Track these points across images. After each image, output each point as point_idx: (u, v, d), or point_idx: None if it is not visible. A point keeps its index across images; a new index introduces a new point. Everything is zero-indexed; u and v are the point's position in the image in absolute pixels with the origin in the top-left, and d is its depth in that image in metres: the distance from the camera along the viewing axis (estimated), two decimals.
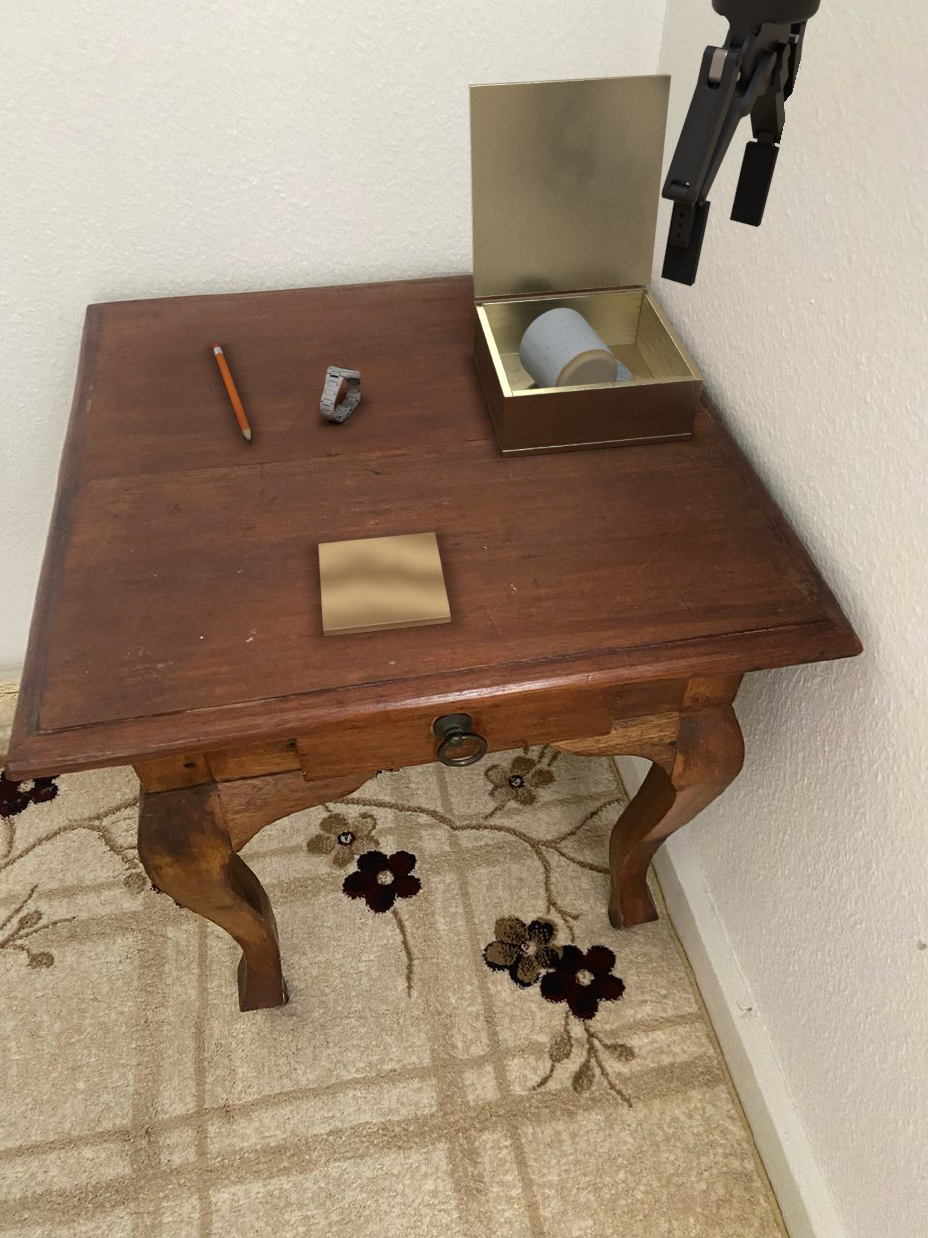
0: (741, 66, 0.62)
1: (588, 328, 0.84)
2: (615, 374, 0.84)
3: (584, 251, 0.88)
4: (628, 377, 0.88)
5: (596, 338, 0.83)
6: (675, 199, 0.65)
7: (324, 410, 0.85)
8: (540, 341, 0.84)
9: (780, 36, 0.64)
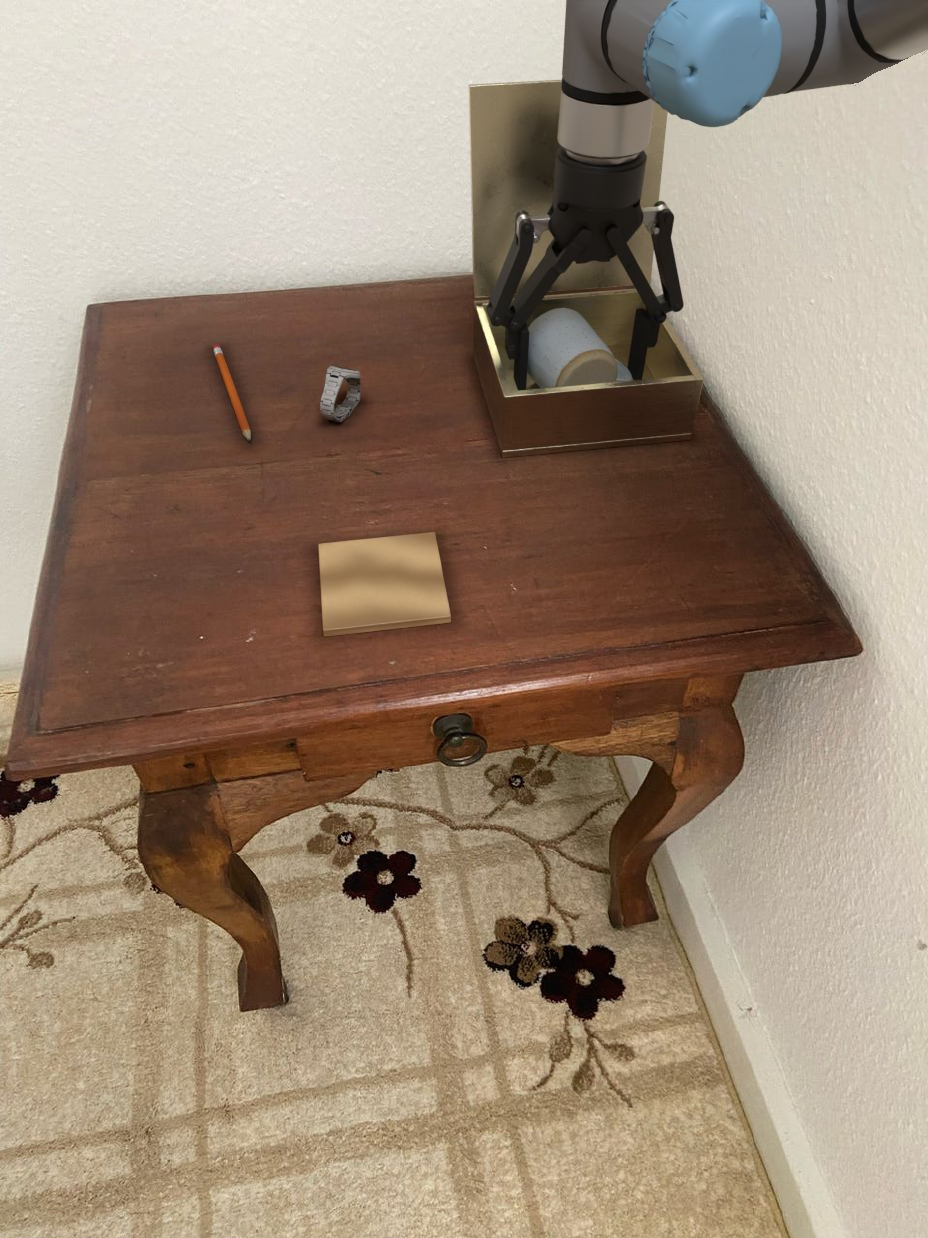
0: (550, 231, 0.76)
1: (588, 328, 0.84)
2: (615, 374, 0.84)
3: None
4: (628, 377, 0.88)
5: (596, 338, 0.83)
6: (489, 317, 0.82)
7: (324, 410, 0.85)
8: (540, 341, 0.84)
9: (616, 219, 0.75)
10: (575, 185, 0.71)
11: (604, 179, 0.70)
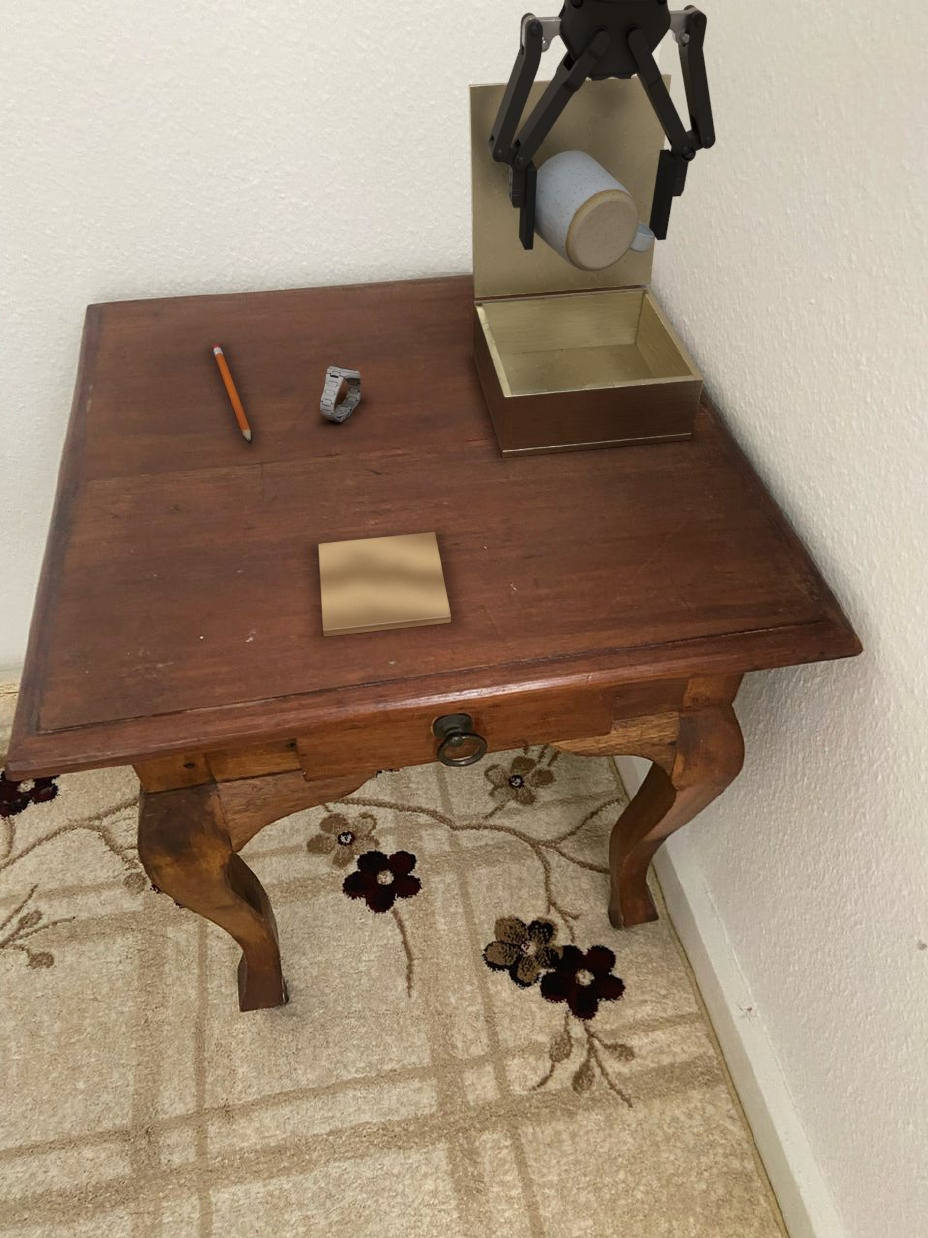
0: (561, 35, 0.65)
1: (605, 171, 0.73)
2: (636, 223, 0.73)
3: None
4: (650, 235, 0.77)
5: (614, 179, 0.72)
6: None
7: (324, 410, 0.85)
8: (549, 185, 0.73)
9: (639, 21, 0.64)
10: None
11: None
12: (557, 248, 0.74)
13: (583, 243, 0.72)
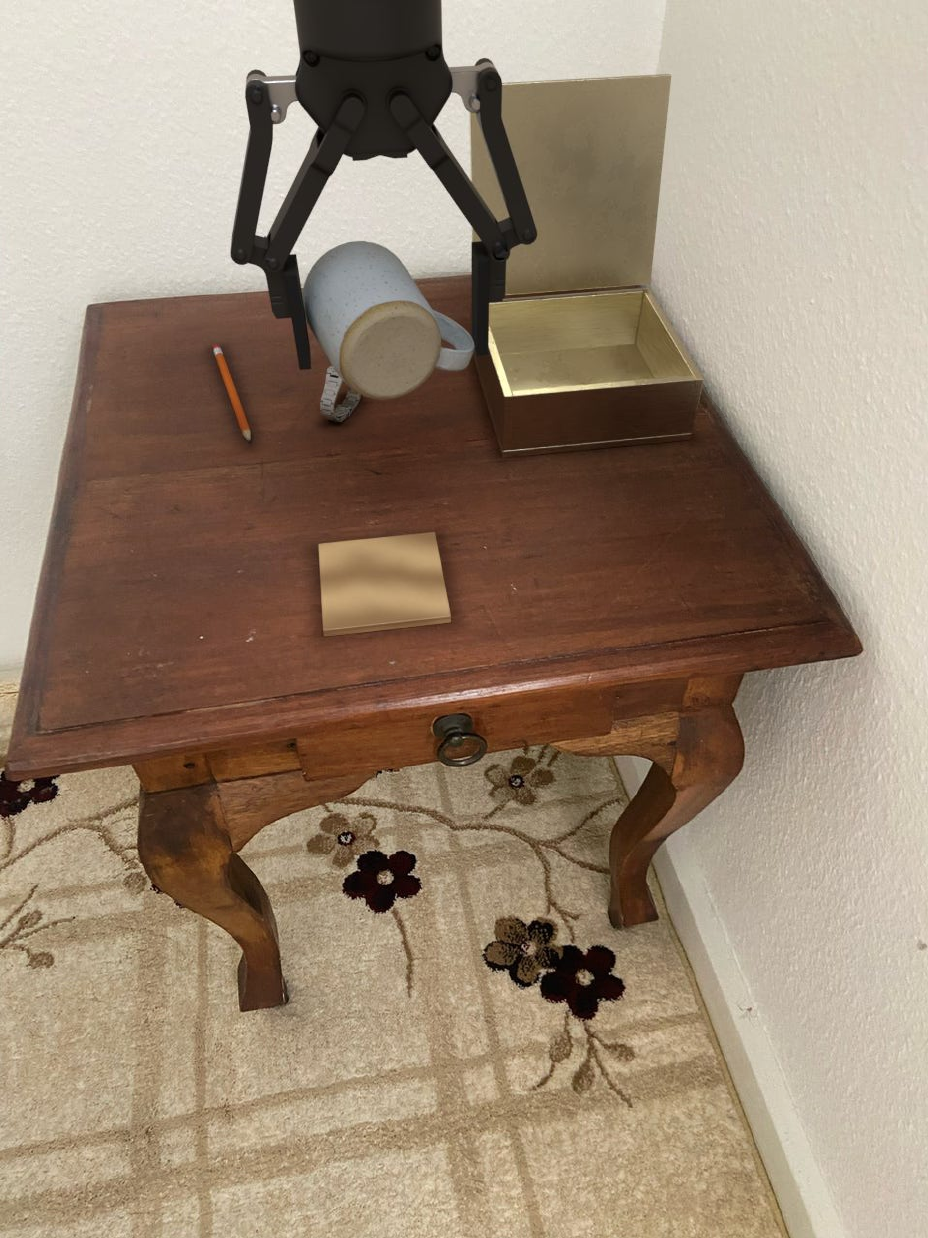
0: (299, 102, 0.47)
1: (396, 270, 0.55)
2: (436, 341, 0.55)
3: (584, 251, 0.88)
4: (468, 348, 0.59)
5: (404, 285, 0.54)
6: None
7: (324, 410, 0.85)
8: (322, 290, 0.55)
9: (405, 83, 0.46)
10: (315, 11, 0.42)
11: None
12: (336, 371, 0.56)
13: (363, 369, 0.54)
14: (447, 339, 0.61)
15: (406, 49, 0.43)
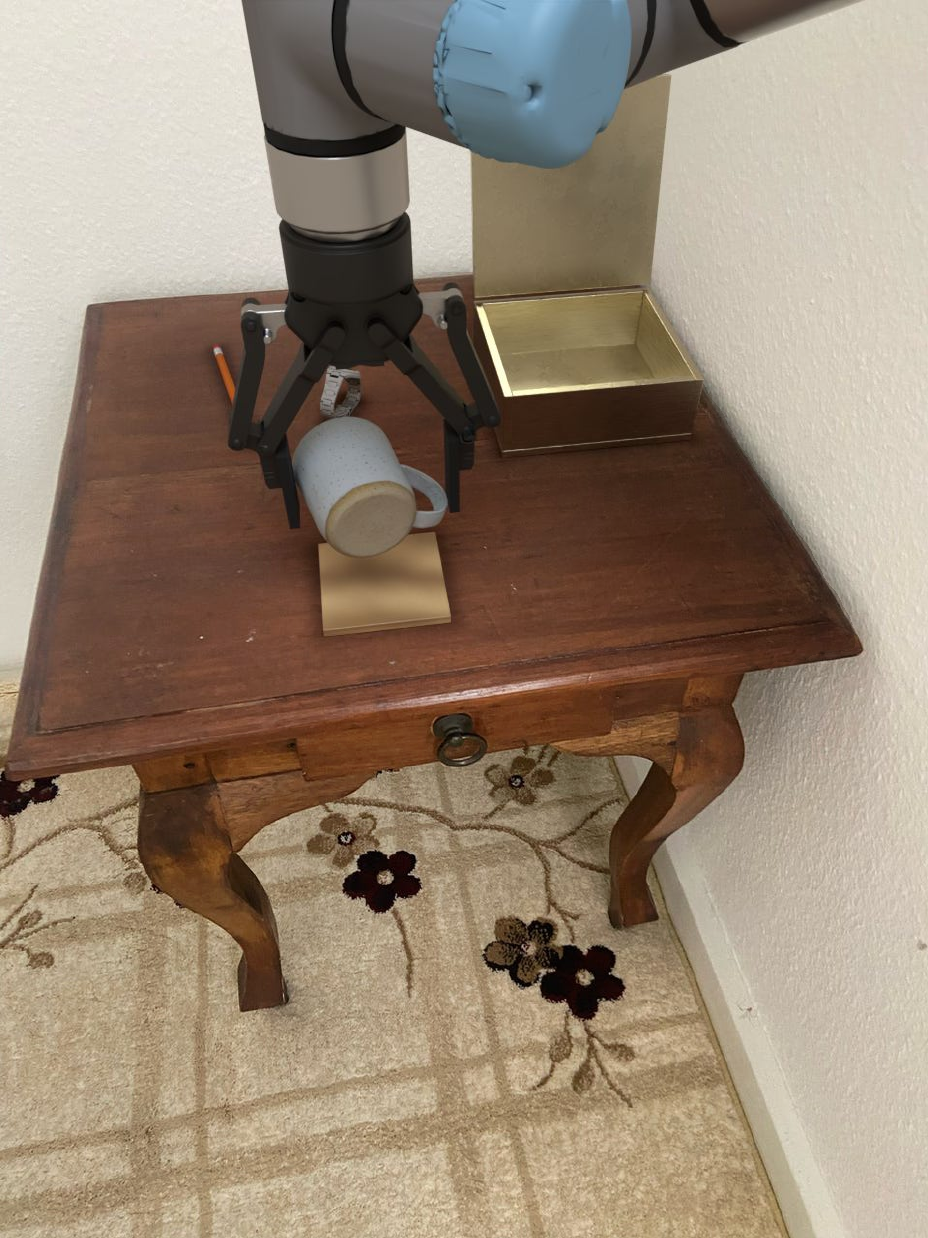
0: (288, 327, 0.53)
1: (375, 447, 0.61)
2: (412, 510, 0.61)
3: (584, 251, 0.88)
4: (442, 506, 0.65)
5: (382, 463, 0.60)
6: None
7: (324, 410, 0.85)
8: (309, 465, 0.61)
9: (381, 311, 0.53)
10: (301, 269, 0.49)
11: (338, 262, 0.48)
12: None
13: (346, 537, 0.61)
14: (423, 491, 0.68)
15: (381, 296, 0.50)
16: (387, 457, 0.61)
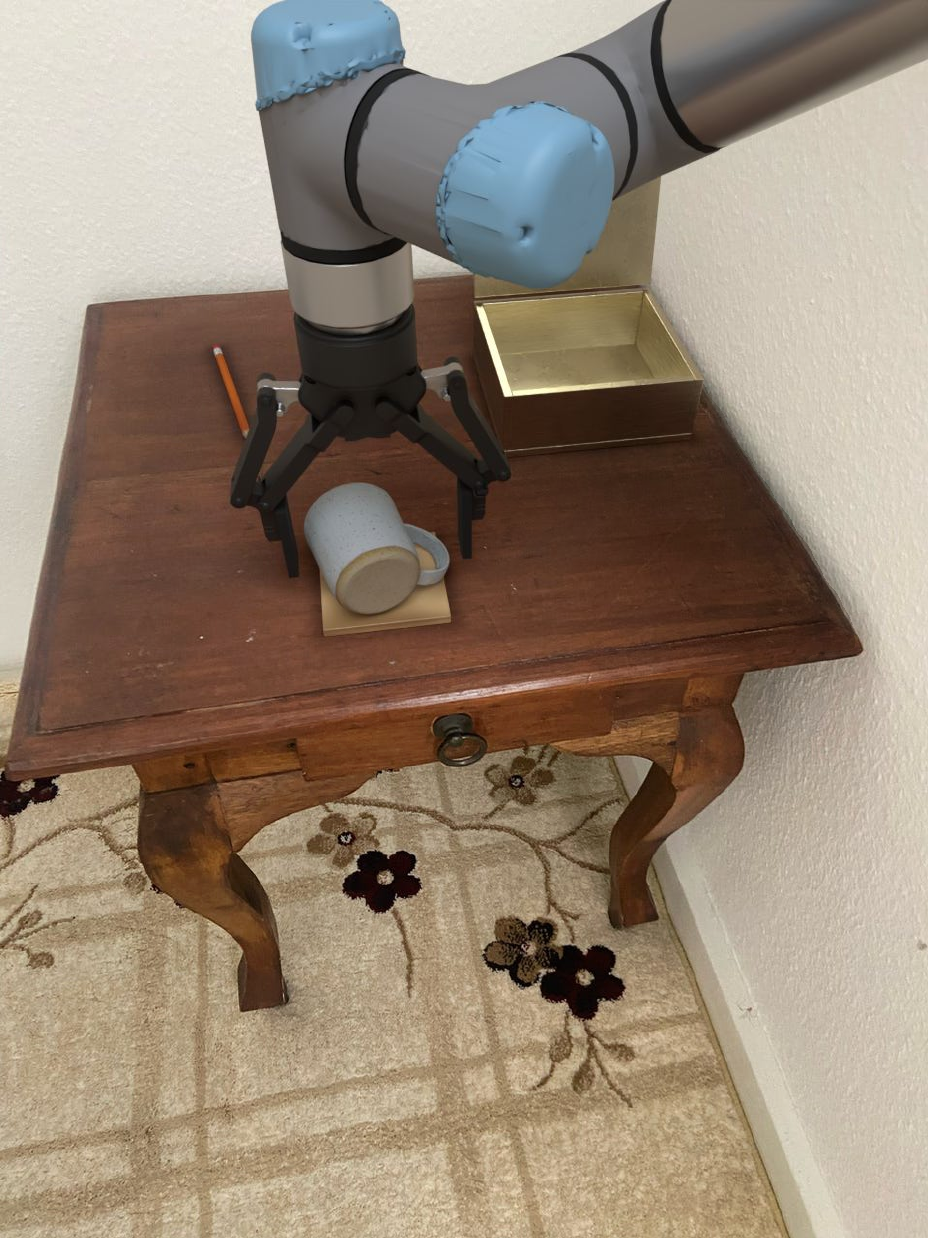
0: None
1: (382, 512, 0.66)
2: (416, 571, 0.66)
3: None
4: (444, 564, 0.70)
5: (389, 528, 0.65)
6: None
7: None
8: (320, 529, 0.66)
9: (387, 390, 0.57)
10: (314, 357, 0.53)
11: (349, 353, 0.52)
12: None
13: (355, 597, 0.65)
14: (427, 548, 0.72)
15: (387, 381, 0.54)
16: (393, 522, 0.66)
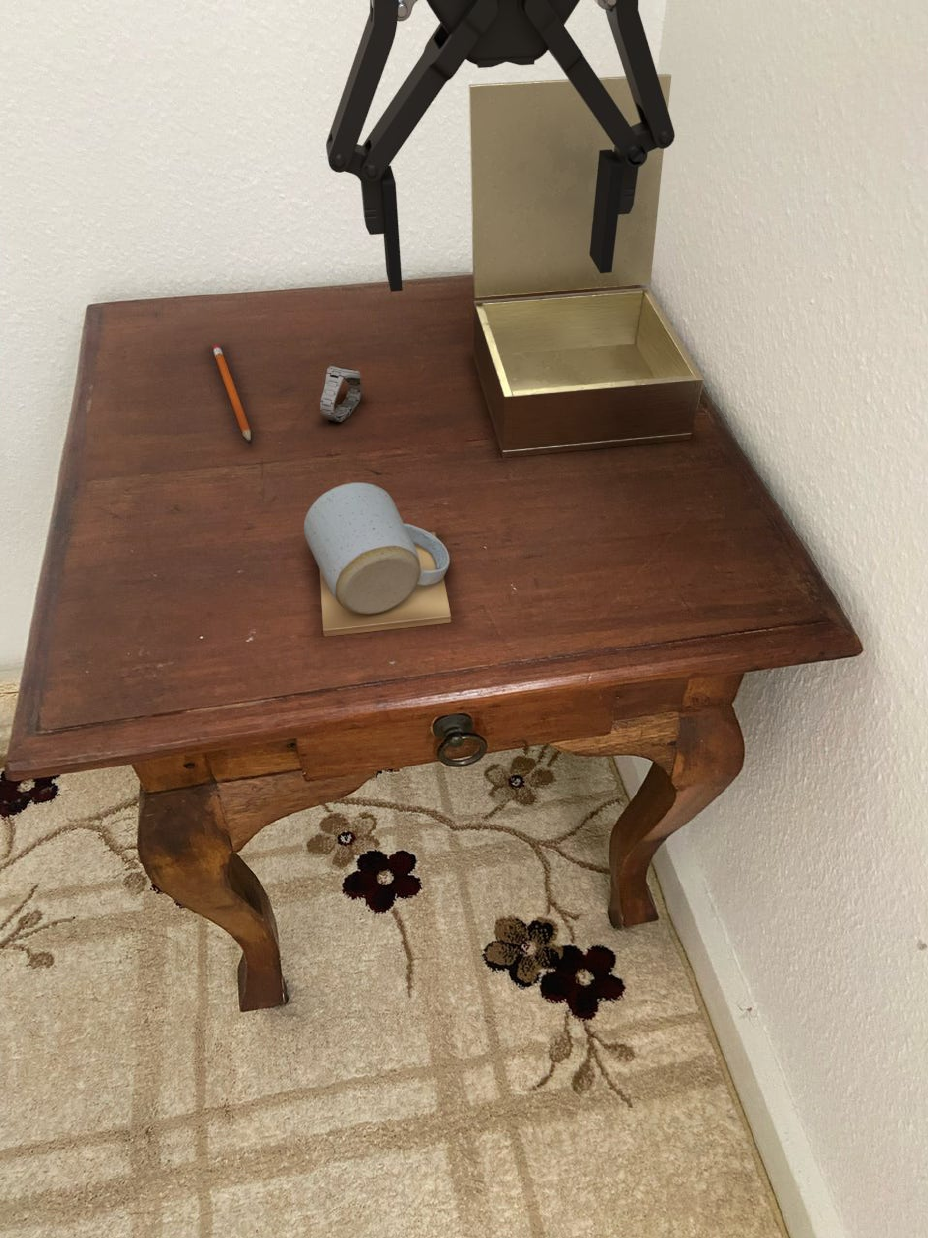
0: (428, 2, 0.45)
1: (382, 512, 0.66)
2: (416, 571, 0.66)
3: (584, 251, 0.88)
4: (444, 564, 0.70)
5: (389, 528, 0.65)
6: None
7: (324, 410, 0.85)
8: (321, 529, 0.66)
9: None
10: None
11: None
12: None
13: (355, 597, 0.65)
14: (427, 548, 0.72)
15: None
16: (393, 522, 0.66)
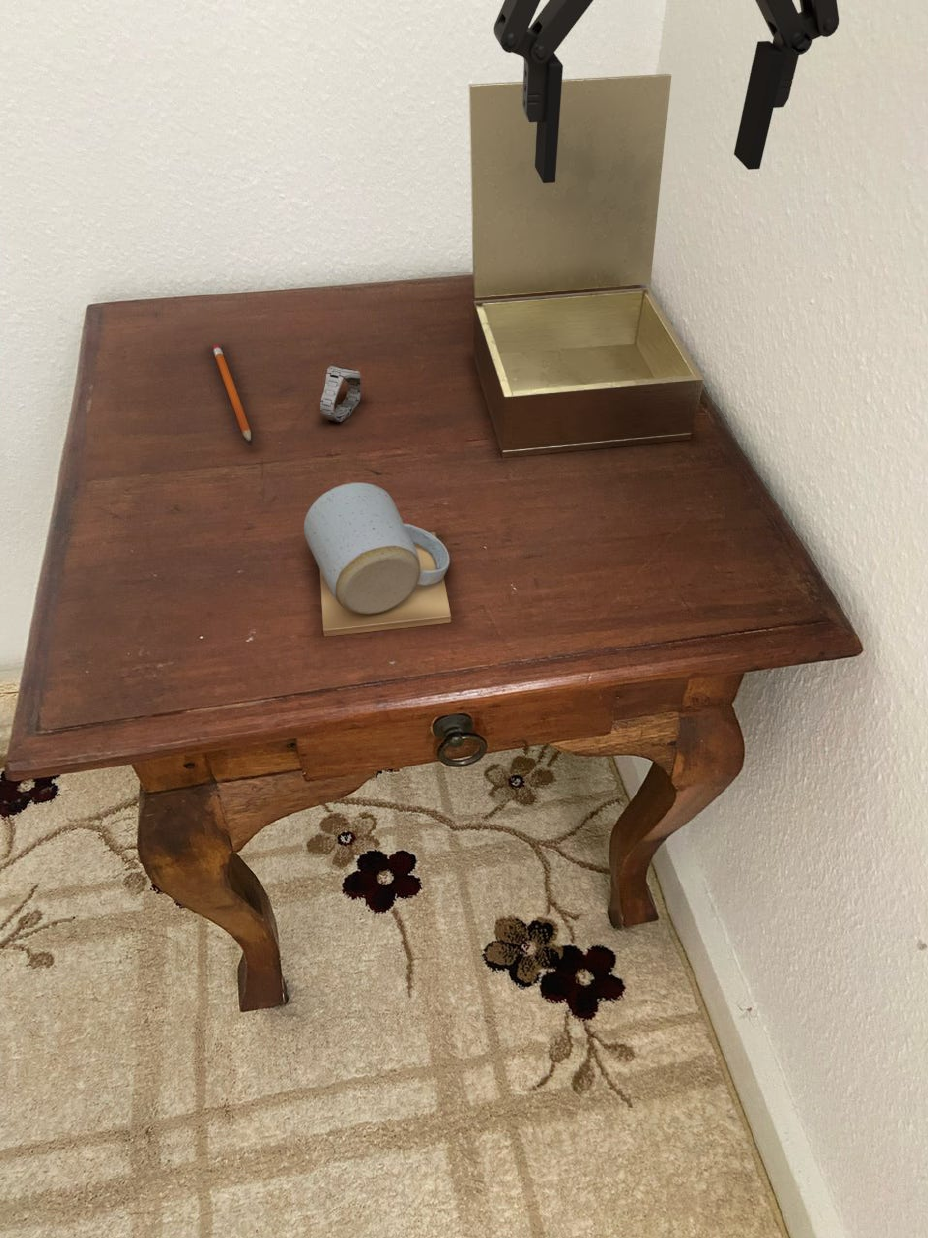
0: None
1: (382, 512, 0.66)
2: (416, 571, 0.66)
3: (584, 251, 0.88)
4: (444, 564, 0.70)
5: (389, 528, 0.65)
6: None
7: (324, 410, 0.85)
8: (321, 529, 0.66)
9: None
10: None
11: None
12: None
13: (355, 597, 0.65)
14: (427, 548, 0.72)
15: None
16: (393, 522, 0.66)
